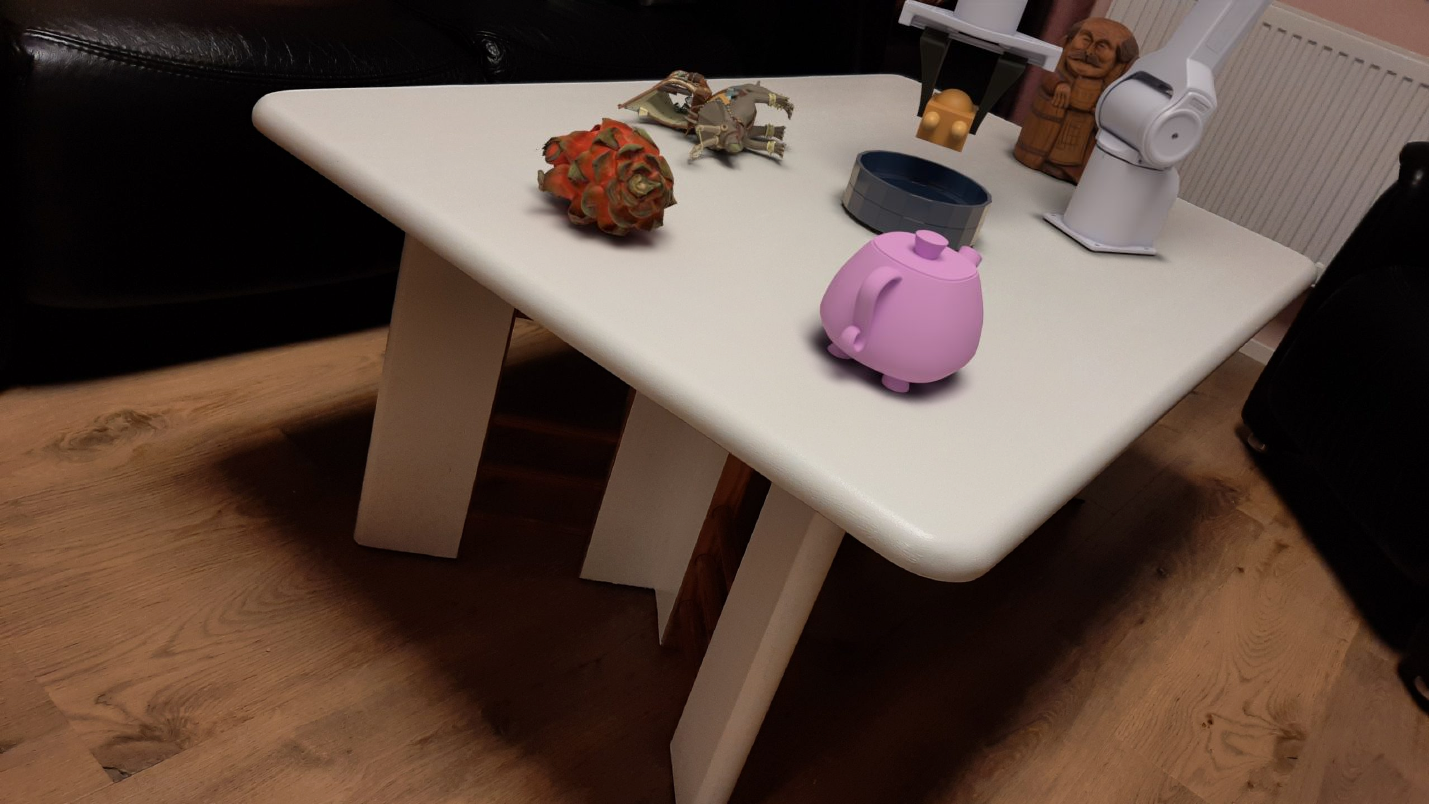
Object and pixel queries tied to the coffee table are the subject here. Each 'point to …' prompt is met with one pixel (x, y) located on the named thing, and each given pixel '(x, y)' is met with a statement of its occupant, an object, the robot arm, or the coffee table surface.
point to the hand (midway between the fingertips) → (947, 123)
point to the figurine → (713, 112)
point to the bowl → (916, 197)
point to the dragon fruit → (609, 177)
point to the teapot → (906, 308)
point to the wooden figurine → (1074, 97)
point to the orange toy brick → (947, 119)
